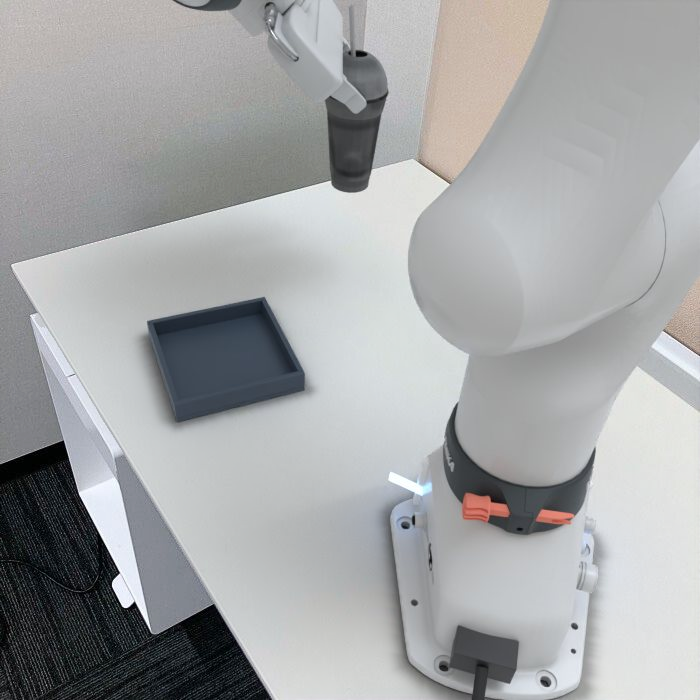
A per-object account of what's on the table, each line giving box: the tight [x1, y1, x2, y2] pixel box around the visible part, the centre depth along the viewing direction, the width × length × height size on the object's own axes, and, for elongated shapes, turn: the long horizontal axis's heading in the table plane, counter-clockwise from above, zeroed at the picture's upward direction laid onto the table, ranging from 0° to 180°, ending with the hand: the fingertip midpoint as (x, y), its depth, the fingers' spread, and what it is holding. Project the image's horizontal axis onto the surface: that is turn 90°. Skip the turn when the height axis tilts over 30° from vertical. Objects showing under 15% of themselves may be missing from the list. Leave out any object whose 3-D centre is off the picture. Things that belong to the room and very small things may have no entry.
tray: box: [146, 296, 306, 423], centre depth 83 cm, size 14×14×3 cm
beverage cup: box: [324, 4, 389, 194], centre depth 82 cm, size 7×7×20 cm
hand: (361, 90), depth 81 cm, fingers closed on beverage cup, 7 cm apart
